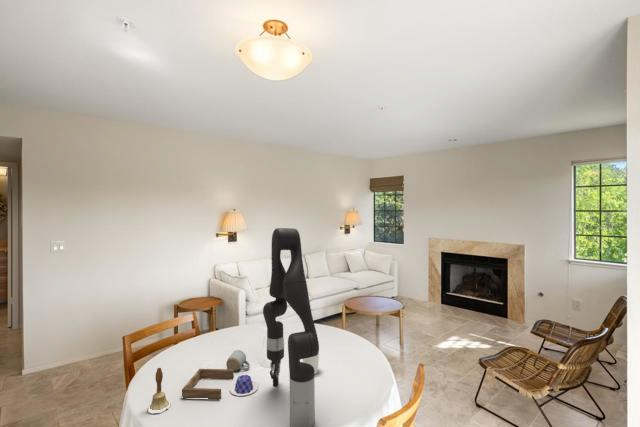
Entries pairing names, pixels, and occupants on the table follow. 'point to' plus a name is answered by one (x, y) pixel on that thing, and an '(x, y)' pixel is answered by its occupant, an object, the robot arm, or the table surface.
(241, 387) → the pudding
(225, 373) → the corral
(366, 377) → the table surface
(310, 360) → the white cup
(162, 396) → the hand bell
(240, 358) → the ceramic mug
